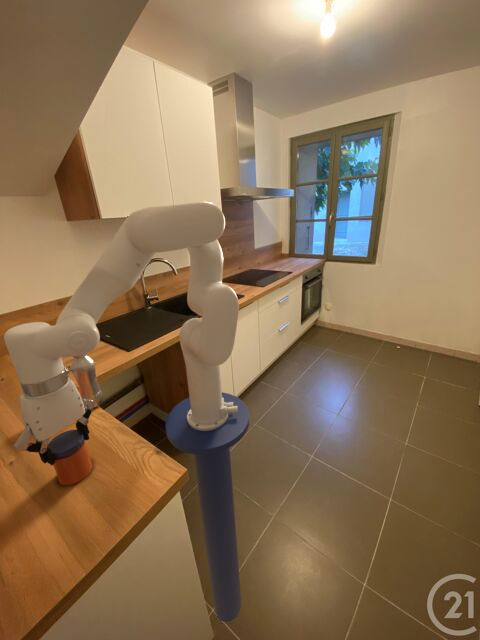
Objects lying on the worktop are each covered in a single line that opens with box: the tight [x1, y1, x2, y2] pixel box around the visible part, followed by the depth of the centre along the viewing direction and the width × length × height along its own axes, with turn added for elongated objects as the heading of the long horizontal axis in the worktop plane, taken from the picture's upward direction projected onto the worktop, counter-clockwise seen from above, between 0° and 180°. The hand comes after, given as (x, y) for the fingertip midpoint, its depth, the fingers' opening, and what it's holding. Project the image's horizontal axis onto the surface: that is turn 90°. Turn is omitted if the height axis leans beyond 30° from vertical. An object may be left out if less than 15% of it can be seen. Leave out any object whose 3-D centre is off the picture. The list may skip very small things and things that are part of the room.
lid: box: [47, 429, 86, 458], centre depth 59 cm, size 7×7×1 cm
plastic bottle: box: [70, 353, 104, 409], centre depth 83 cm, size 6×7×20 cm
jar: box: [52, 440, 93, 486], centre depth 60 cm, size 7×7×9 cm
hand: (68, 449), depth 59 cm, fingers closed on lid, 7 cm apart
